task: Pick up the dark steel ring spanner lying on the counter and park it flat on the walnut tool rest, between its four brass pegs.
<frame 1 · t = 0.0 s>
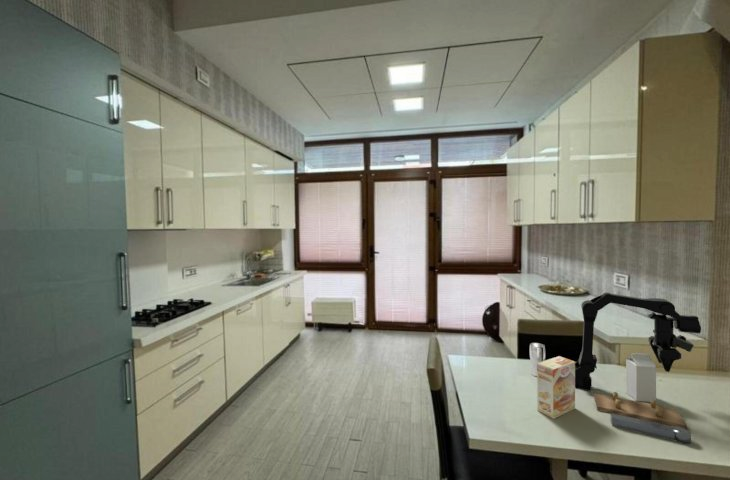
hand: (663, 367, 130), 15 cm above the table, tool pointing down, fingers open, 9 cm apart
milk carton: (640, 398, 134), on the table
coffeecake box: (556, 409, 127), on the table
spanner: (640, 430, 113), on the table
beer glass: (537, 374, 158), on the table
tool rest: (635, 411, 125), on the table
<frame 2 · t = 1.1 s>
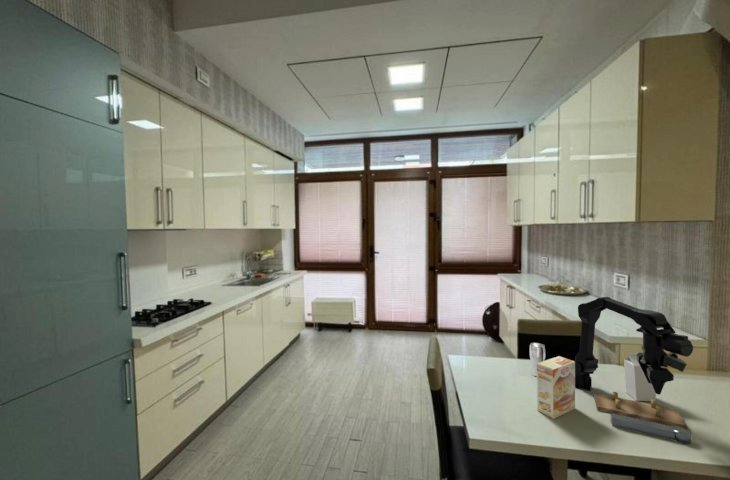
hand: (654, 388, 116), 13 cm above the table, tool pointing down, fingers open, 9 cm apart
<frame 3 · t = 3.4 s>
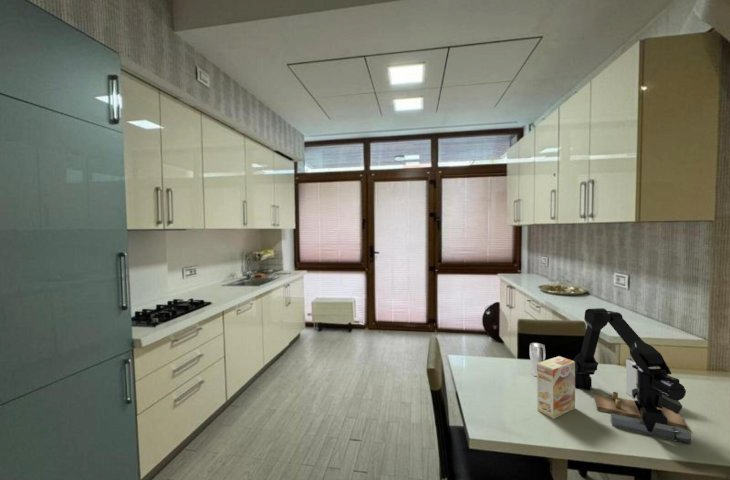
hand: (648, 428, 112), 1 cm above the table, tool pointing down, fingers closed on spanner, 3 cm apart
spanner: (640, 430, 113), on the table, touching gripper
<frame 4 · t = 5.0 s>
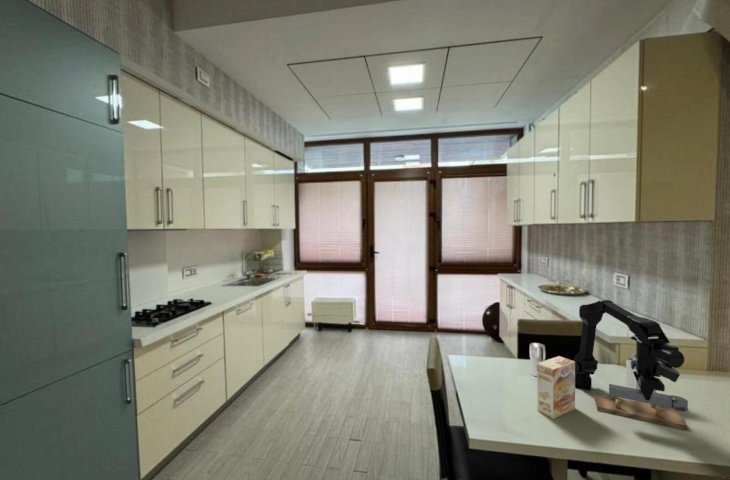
hand: (645, 397, 114), 11 cm above the table, tool pointing down, fingers closed on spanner, 3 cm apart
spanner: (638, 399, 115), point 10 cm above the table, touching gripper
everything else where it was.
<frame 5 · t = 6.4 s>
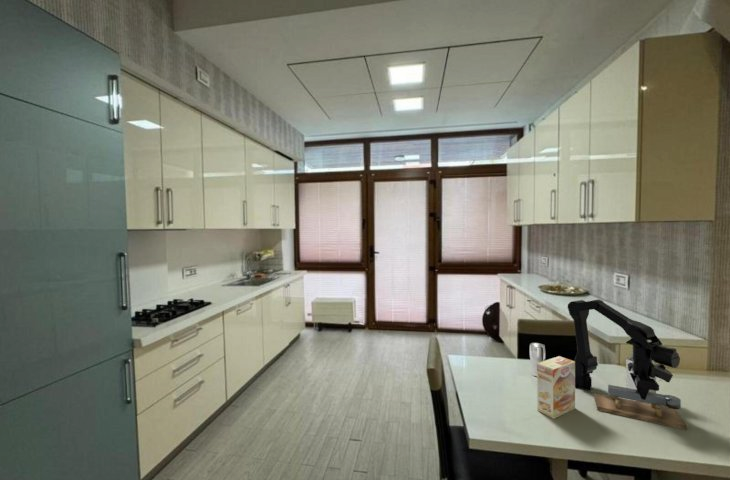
hand: (642, 397, 123), 6 cm above the table, tool pointing down, fingers closed on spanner, 3 cm apart
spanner: (635, 398, 124), point 5 cm above the table, touching gripper
everything else where it was.
when the fingers open (4 cm above the table, at t = 7.0 s): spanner drops 1 cm, resting on tool rest.
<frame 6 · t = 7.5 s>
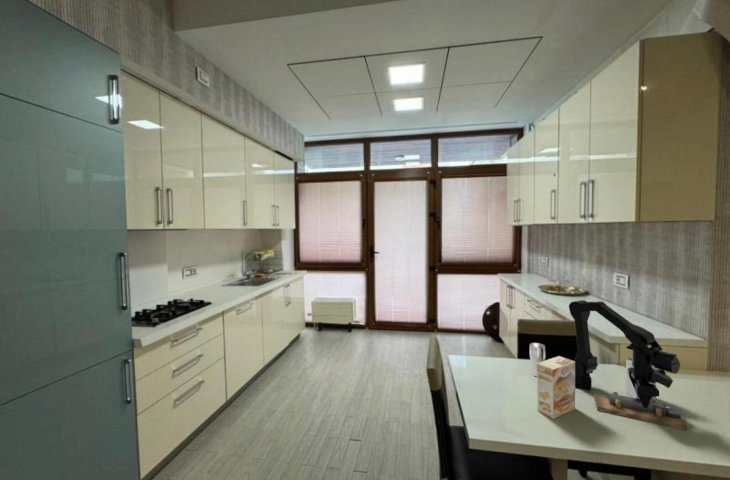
hand: (642, 402, 123), 4 cm above the table, tool pointing down, fingers open, 9 cm apart
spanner: (635, 407, 125), point 1 cm above the table, touching tool rest
everything else where it was.
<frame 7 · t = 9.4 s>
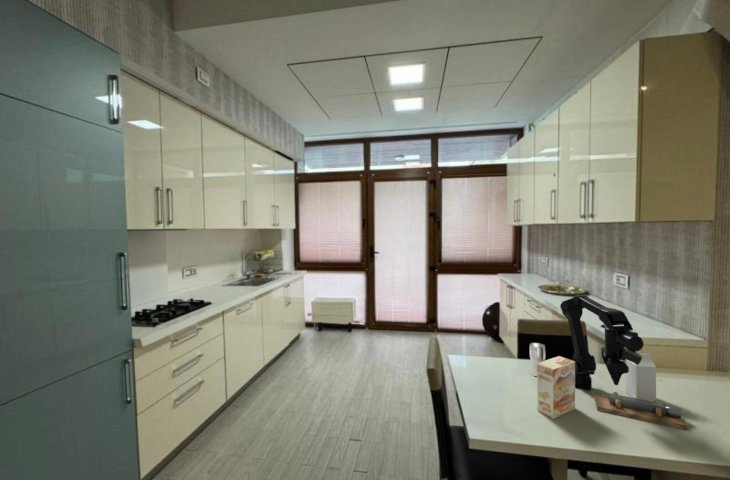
hand: (613, 379, 127), 12 cm above the table, tool pointing down, fingers open, 9 cm apart
nothing on the table moved.
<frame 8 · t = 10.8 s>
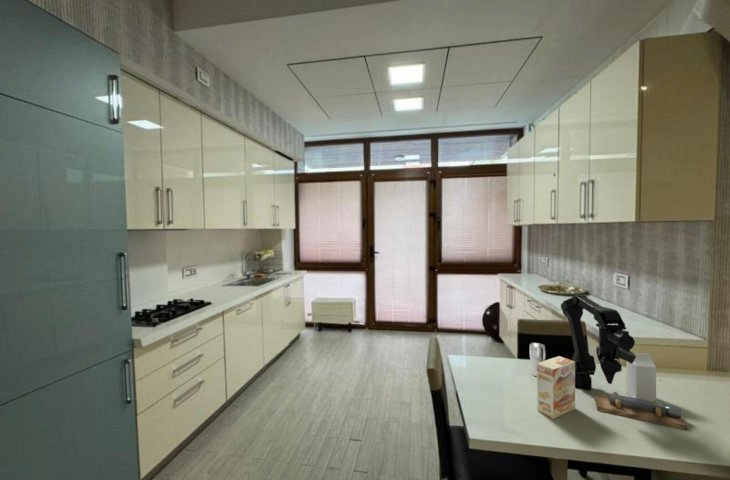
hand: (608, 378, 127), 12 cm above the table, tool pointing down, fingers open, 9 cm apart
nothing on the table moved.
at the end: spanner 0.0 cm off-centre on the tool rest, point 1.5 cm above the tool rest's base; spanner tilted 0°; the gripper is holding nothing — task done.
